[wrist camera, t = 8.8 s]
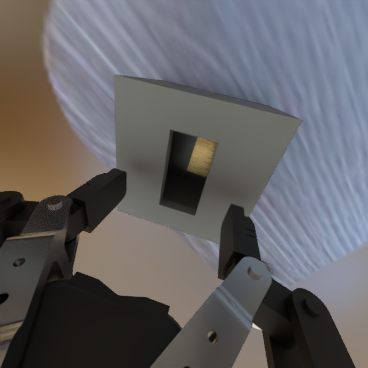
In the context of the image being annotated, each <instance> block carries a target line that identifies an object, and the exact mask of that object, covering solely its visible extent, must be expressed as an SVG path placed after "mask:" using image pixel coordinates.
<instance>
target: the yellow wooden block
mask: <svg viewBox="0 0 368 368" xmlns="http://www.w3.org/2000/svg"><path fill="white" fill-rule="evenodd" d="M217 144H218V142H215V141H211V140H207V139H204V138H200V137H198V138H197V141H196V144H195V147H194V150H193V153H192V156H191V159H190V162H189V165H188V168H187V171H189V172H192V173H195V174H197V175H200V176H203V177H205V178H207V175H208V172H209V169H210V166H211V163H212V159H213V156H214V153H215V150H216V147H217Z"/></svg>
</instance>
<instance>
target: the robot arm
mask: <svg viewBox="0 0 368 368" xmlns="http://www.w3.org/2000/svg"><path fill="white" fill-rule="evenodd" d="M126 191H127V173H126V171H122V170H119V169H116V168H114V169H112V170H111V171H109V172H108V173H103V174H100V175H97V176H95V177H94V178H92V179H91V180H89V181H88V182H86V184H83V185H82V186H80V187H79V188H77V189H76V190H74V191H73V192H71V193H70V194H68V195H67V196H64V195H55V196H50V197H47V198H45V199H43V200H41V201H40V202H36V201H25V200H24V198H23V196H22V194H21V193H20V192H17V191H4V192H0V368H232V366H233V364H234V362H235V360H236V358H237V356H238V354H239V352H240V350H241V348H242V346H243V344H244V342H245V340H246V338H247V336H248V334H249V333H250V330H251V328H252V325H253V324H252V323H254V324H255V325H256V326H257V327H259V328H260V329H261V330H262V333H263V338H264V345H265V351H266V357H267V364H268V368H355V366H354V364H353V361H352V359H351V357H350V355H349V353H348V351H347V349H346V347H345V344H344V342H343V340H342V338H341V336H340V334H339V332H338V330H337V328H336V325H335V323H334V321H333V319H332V317H331V315H330V313H329V311H328V310H327V308H326V306H325V305H324V303H323V302H322V301H321V300H320V299H319V298H318V297H317V296H315V295H314V294H313V293H311V292H310V291H308V290H306V289H302V288H297V289H295V290H294V291H290V290H289V289H287V288H286V287H284V286H283V285H281V284H280V283H278V282H277V281H275V280H274V279H273V278H272V277H271V274H270V272H269V270H268V268H267V267H266V266H265V265H264V264H263V263H262V262H261V258H260V252H259V247H258V242H257V239H256V238H257V236H256V233H255V232H256V231H255V226H254V223H253V222H252V220H251V219H250V217H246V216H245V214H244V208H243V207H241V206H238V205H234V204H231V205H230V206H229V209H228V211H227V213H226V215H225V218H224V220H223V222H222V226H221V233H220V250H219V268H218V278H219V279H222V280H224V281H223V283H222V284H221V285H220V286H219V287H218V288H216V289H215V290H214V291H213V293H212V294H211V295H210V296H209V297H208V299H207V300H206V301H205V302H204V303H203V305H202V306H201V307H200V308H199V310H198V311H197V312H196V313H195V314H194V315H193V317H192V318H191V319H190V320H189V321H188V323H187V324H186V325H185V326H184V327H183V328H181V327H180V325H179V324H178V323H177V322H176V321H175V320H174V318H173V317H171V316H170V315H169V314H168V311H169V307H170V306H168V305H165V304H163V303H160V302H157V301H154V300H152V299H149V298H147V297H132V296H119V295H117V294H116V293H114V292H113V291H112V290H111V289H109V288H108V287H107V286H106V285H105V284H103V283H102V282H101V281H100V280H98V279H96V278H93V277H91V276H88V275H85V274H82V273H80V272H76V274H75V275H74V276H73V265H74V261H75V256H76V252H77V247H78V242H79V234H80V232H82V231H86V232H88V233H91V232H92V231H93V230H94V229H95V228H96V227H97V225H99V224H100V223H101V221H102V220H103V219H104V218H105V217H106V216H107V215H108V214H109V213H110V212H111V211H112V210H113V209H114V208H115V207H116V206H117V205H118V204H119V203H120V202H121V201H122V200H123V198H124V197H125V195H126Z"/></svg>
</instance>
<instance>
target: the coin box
mask: <svg viewBox="0 0 368 368" xmlns="http://www.w3.org/2000/svg"><path fill="white" fill-rule="evenodd" d="M114 88H115V125H116V162H117V169H119V170H122V171H126V173H127V191H126V195H125V197H124V198H123V200H122V201H121V202H120V203H119V204H118V211H120V212H123V213H126V214H129V215H133V216H136V217H139V218H142V219H145V220H148V221H151V222H154V223H157V224H160V225H163V226H166V227H169V228H172V229H175V230H178V231H181V232H184V233H187V234H191V235H194V236H197V237H200V238H203V239H206V240H209V241H212V242H215V243H218V244H220V233H221V226H222V222H223V220H224V218H225V215H226V213H227V211H228V209H229V206H230V205H231V204H234V205H238V206H241V207H243V208H244V214H245V216H246V217H249V215H250V213H251V211H252V210H253V208H254V206H255V204H256V202H257V201H258V199H259V197H260V195H261V194H262V192H263V190H264V188H265V186H266V185H267V183H268V181H269V179H270V177H271V176H272V174H273V172H274V170H275V168H276V167H277V165H278V163H279V161H280V159H281V158H282V156H283V154H284V152H285V151H286V149H287V147H288V145H289V143H290V142H291V140H292V138H293V136H294V134H295V133H296V131H297V129H298V127H299V125H300V124H301V122H302V120H301V119H298V118H296V117H294V116H291V115H289V114H287V113H284V112H282V111H280V110H277V109H275V108H273V107H270V106H267V105H263V104H258V103H254V102H250V101H246V100H242V99H238V98H233V97H229V96H225V95H221V94H217V93H212V92H208V91H204V90H200V89H196V88H191V87H187V86H183V85H179V84H175V83H171V82H166V81H162V80H155V79H146V78H138V77H130V76H121V75H114ZM198 137H200V138H204V139H207V140H211V141H215V142H218V144H217V147H216V150H215V153H214V156H213V159H212V163H211V166H210V169H209V172H208V175H207V178H205V177H203V176H200V175H197V174H195V173H192V172H189V171H187V168H188V165H189V162H190V159H191V156H192V153H193V150H194V147H195V144H196V141H197V138H198Z"/></svg>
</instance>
